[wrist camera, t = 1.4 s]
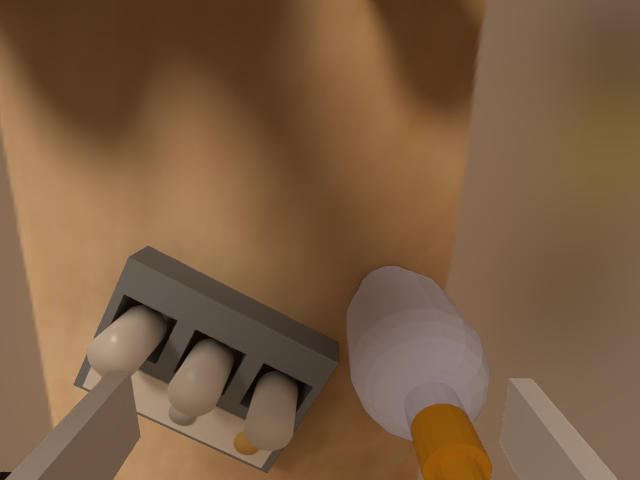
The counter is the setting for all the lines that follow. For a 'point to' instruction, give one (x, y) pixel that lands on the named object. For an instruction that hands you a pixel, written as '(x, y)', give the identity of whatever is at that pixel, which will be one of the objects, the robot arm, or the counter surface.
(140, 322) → the button
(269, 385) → the button
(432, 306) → the soap bottle
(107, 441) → the robot arm
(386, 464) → the counter surface
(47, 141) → the counter surface
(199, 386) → the button
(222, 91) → the counter surface
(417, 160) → the counter surface
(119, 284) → the board
